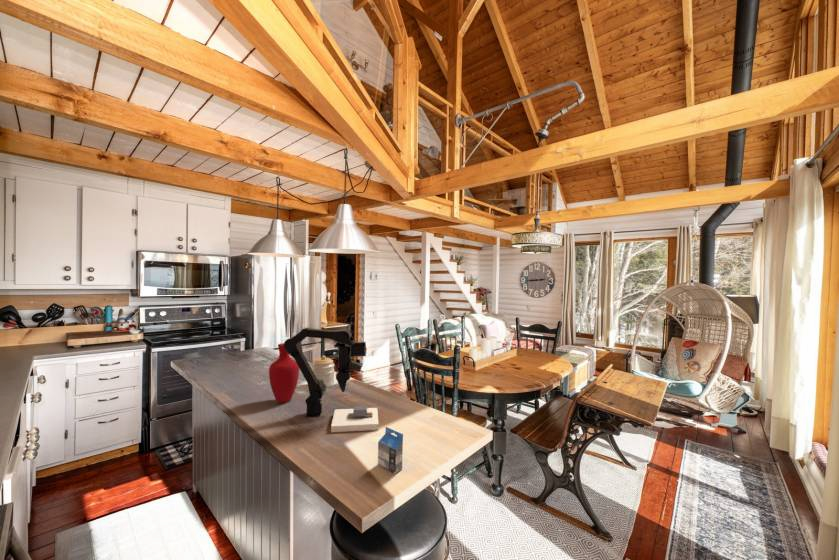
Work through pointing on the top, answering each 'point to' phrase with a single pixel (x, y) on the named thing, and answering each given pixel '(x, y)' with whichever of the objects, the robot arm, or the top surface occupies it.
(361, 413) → the servo
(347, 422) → the cream flat slab
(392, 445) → the label tape cartridge
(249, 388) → the top surface
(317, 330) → the robot arm
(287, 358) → the vase
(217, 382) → the top surface
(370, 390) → the top surface
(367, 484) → the top surface
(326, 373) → the jar
